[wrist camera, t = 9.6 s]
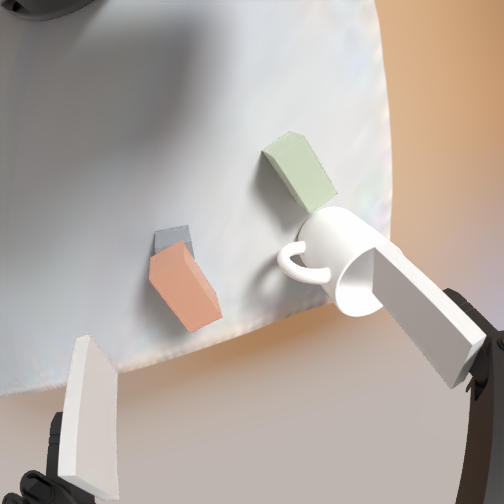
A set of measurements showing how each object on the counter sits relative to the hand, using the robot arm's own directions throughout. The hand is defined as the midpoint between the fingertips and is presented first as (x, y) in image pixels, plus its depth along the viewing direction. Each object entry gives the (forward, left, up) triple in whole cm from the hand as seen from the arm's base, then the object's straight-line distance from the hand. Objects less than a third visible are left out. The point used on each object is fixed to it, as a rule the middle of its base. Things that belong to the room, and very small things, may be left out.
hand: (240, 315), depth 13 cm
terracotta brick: (+7, -4, -17) cm, 19 cm away
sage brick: (+1, +10, -21) cm, 23 cm away
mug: (+10, +11, -21) cm, 26 cm away
